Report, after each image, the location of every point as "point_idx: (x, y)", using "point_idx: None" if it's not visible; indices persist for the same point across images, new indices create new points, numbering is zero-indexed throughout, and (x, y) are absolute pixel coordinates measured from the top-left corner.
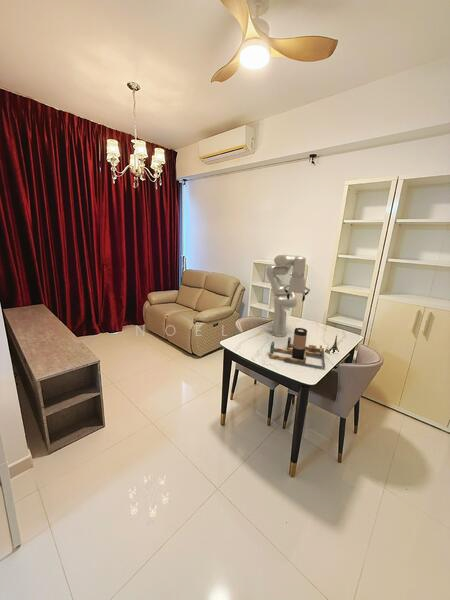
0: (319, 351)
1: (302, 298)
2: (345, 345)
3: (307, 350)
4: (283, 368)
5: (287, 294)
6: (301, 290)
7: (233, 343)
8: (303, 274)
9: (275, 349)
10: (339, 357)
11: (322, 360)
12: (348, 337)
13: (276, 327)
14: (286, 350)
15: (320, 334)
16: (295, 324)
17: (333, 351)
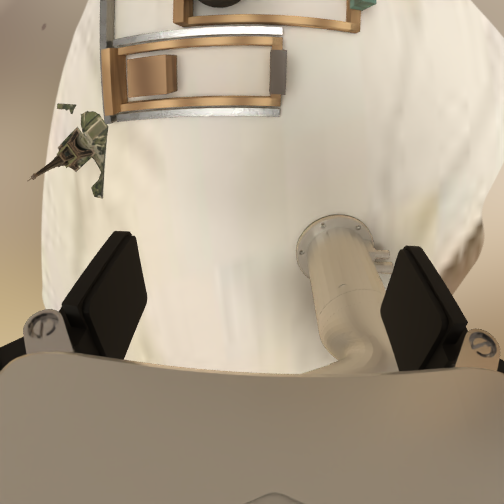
0: (121, 89)
1: (110, 268)
2: (55, 230)
3: (179, 97)
4: None
5: (464, 334)
6: (27, 431)
7: None
8: None
9: (341, 22)
10: (56, 100)
11: (110, 8)
12: None
13: (359, 249)
14: (283, 15)
15: (151, 303)
16: (260, 364)
17: (74, 134)
